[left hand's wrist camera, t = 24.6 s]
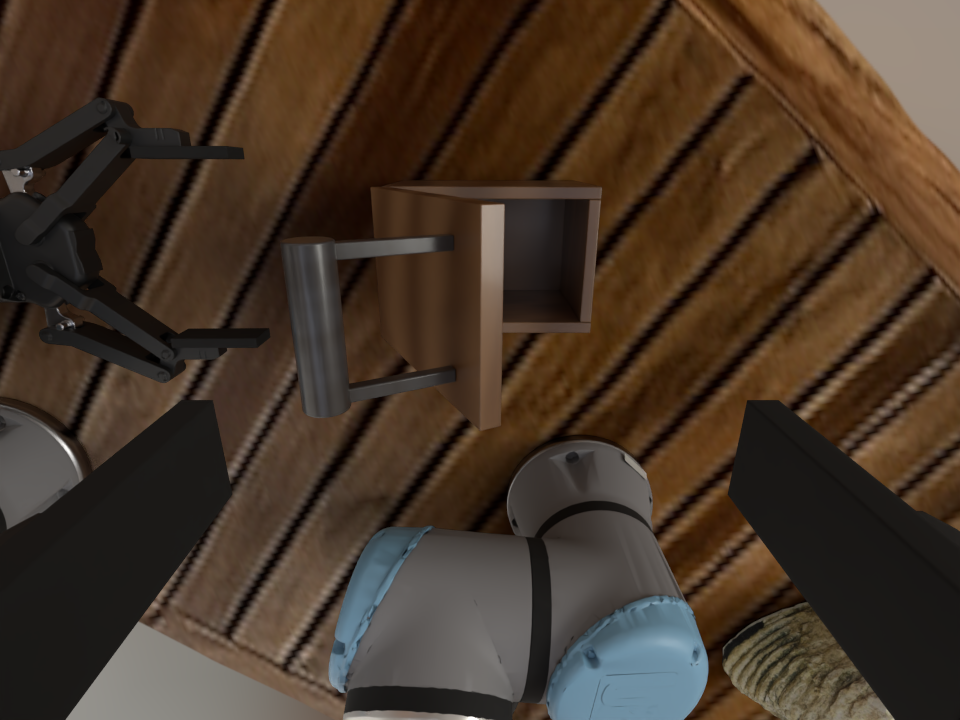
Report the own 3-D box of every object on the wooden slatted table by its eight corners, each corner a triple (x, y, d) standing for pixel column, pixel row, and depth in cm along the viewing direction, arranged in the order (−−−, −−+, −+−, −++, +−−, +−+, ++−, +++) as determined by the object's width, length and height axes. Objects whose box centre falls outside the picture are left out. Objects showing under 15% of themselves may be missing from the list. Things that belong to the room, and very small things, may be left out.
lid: (505, 203, 21) (286, 211, 17) (501, 426, 25) (319, 471, 21) (387, 186, 34) (247, 189, 30) (396, 334, 38) (272, 352, 34)
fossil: (878, 604, 61) (995, 734, 48) (751, 684, 66) (823, 824, 52) (836, 564, 59) (946, 688, 45) (707, 650, 64) (771, 786, 50)
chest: (574, 180, 44) (602, 186, 34) (566, 296, 48) (590, 333, 38) (403, 180, 44) (380, 186, 34) (408, 296, 48) (389, 332, 38)
